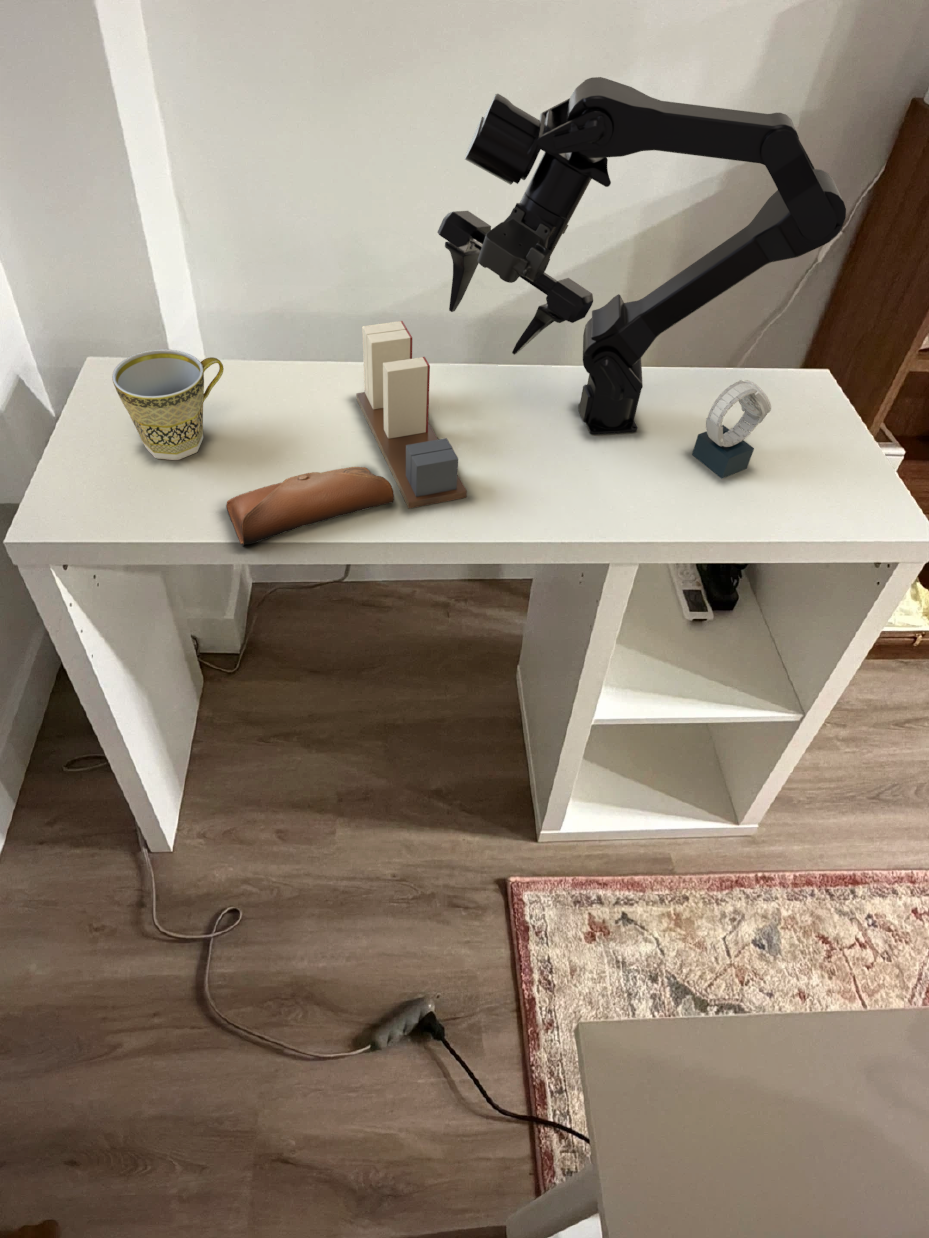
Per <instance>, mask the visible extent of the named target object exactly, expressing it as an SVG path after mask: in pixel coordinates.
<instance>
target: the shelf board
mask: <svg viewBox="0 0 929 1238" xmlns="http://www.w3.org/2000/svg"><path fill="white" fill-rule="evenodd" d="M355 394H356V396H355V397H356V402H357V403H358V406H359V408H360V410H361V412H362V414H363V416H364V418H365V420H366V423H367V424H368V426H369V429H370V431H371V433H372V435H373V437H374V439H375V441H376V444H377V445H378V447H379V449H380V451H381V454H382V456H383V458H384V460H385V462H386V465H387V466H388V469H389V471H390V472H391V475H392V477H393V479H394V481H395V483H396V485H397V487H398V489H399V492H400V494H401V496H402V497H403V500H404V502H405V504H406V506H407V509H414V508H419V507H425V506H429V505H435V504H440V503H446V502H450V501H456V500H460V499H466V498H467V496H468V491H467V489H466V487H465V484H464V483H463V481H462V479H461V478H460V476H459V474H458V473H457V488H456V490H451V491H446V492H440V493H435V494H430V495H425V496H419V497H416V496H415V494H414V492H413V489H412V487H411V485H410V483H409V481H408V479H407V477H406V445H410V444H415V443H421V442H427V441H433V440H438V439H439V438H438V436H437V434H436V433H435V431H434V428H433V427H432V426H431V423H430V422H429V421H428V432H427V433H426V432H425V433H419V434H414V435H408V436H402V437H396V438H390V439H388V437H387V435H386V433H385V431H384V408H380V409H373V408H372V406H371V404H370V402H369V400H368V398H367V396H366V394H365V391H363V392H357V393H355Z"/></svg>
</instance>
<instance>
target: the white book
mask: <svg viewBox="0 0 929 1238" xmlns="http://www.w3.org/2000/svg"><path fill="white" fill-rule="evenodd" d="M430 375H431V365H430V363H429V362H428V360H427V358H426V357H425V356H422V357H414V358H412V359H407V360H400V361H393V362H386V363H383V408H384V431H385V433H386V435H387V437H388V439H390V438H396V437H402V436H408V435H414V434H419V433H425V432H426V433H427V432H428V422H429V411H430V409H429V408H430V377H431V376H430Z"/></svg>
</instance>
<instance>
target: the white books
mask: <svg viewBox="0 0 929 1238" xmlns="http://www.w3.org/2000/svg"><path fill="white" fill-rule="evenodd" d="M361 327H362V355H363V356H362V357H363V358H362V361H363V385H364V386H363V387H364V392H365V394H366V396H367V398H368V400H369V402H370V404H371V406H372V408H373V409H380V408H383V363H386V362H393V361H400V360H407V359H413V336H412V334H411V333H410V331H409V330H408V328H407V326H406V324H405V322H404V321H403V320H400V321H399V320H398V321H391V322H384V323H377V324H376V323H375V324H370V325H363V326H361Z"/></svg>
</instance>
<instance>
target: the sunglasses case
mask: <svg viewBox="0 0 929 1238" xmlns="http://www.w3.org/2000/svg"><path fill="white" fill-rule="evenodd" d="M394 492H395V491H394V488H393V486H392V484H391V483H390V481H389V480H388V479H387V478H385V477H383V476H380V475H377V474H374V473H372V472H371V471H370V470H369V469H368V468H367V467H365V466H364V467H362V466H350V467H349V466H348V467H344V468H338V469H332V470H327V471H323V472H318V471H312V472H306V473H303V474H297V475H294V476H290V477H287V478H285V479H284V480H283V481H281V482H278V483H273V484H270V485H267V486H263V487H260V488H257V489H253V490H250V491H247V492H244V493H241V494H239V495H236V496H233V497H231V498H230V499H228V500H227V501H226V505H225V507H226V511H227V515H228V516H229V519H230V521H231V524H232V526H233V529H234V531H235V534H236V538H237V539H238V542H239V544H240V545H241V546H242V547H243V546H245V545H251V544H256V543H258V542H261V541H265V540H267V539H270V538H272V537H275V536H280V535H281V534H284V533H287V532H288V533H289V532H291V531H294V530H297V529H299V528H301V527H305V526H310V525H313V524H318V523H323V522H324V521H329V520H331V519H334V518H337V517H342V516H346V515H350V514H355V513H357V512H361V511H365V510H367V509H368V510H369V509H373V508H375V507H376V508H377V507H380V506H383V505H388V504H390V503H393V504H394V502H395V493H394Z"/></svg>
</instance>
